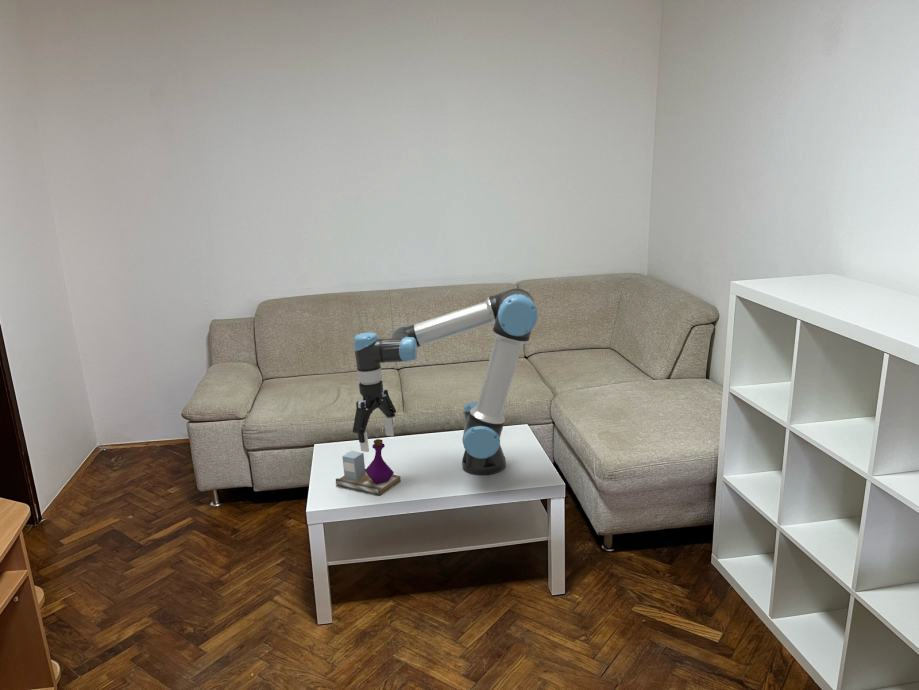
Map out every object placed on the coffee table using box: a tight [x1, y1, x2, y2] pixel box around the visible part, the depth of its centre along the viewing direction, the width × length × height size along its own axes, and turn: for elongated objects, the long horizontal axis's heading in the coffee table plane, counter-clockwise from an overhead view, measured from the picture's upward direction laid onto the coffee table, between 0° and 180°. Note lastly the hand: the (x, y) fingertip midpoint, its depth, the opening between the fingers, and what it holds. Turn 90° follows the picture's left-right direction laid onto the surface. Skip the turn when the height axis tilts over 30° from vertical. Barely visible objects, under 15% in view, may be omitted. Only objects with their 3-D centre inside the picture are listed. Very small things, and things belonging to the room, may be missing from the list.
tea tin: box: [341, 450, 366, 481], centre depth 242 cm, size 5×5×8 cm
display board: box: [335, 468, 401, 497], centre depth 241 cm, size 18×12×3 cm, turn 60°
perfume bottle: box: [365, 428, 395, 484], centre depth 236 cm, size 8×8×18 cm
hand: (377, 443), depth 235 cm, fingers open, 13 cm apart
